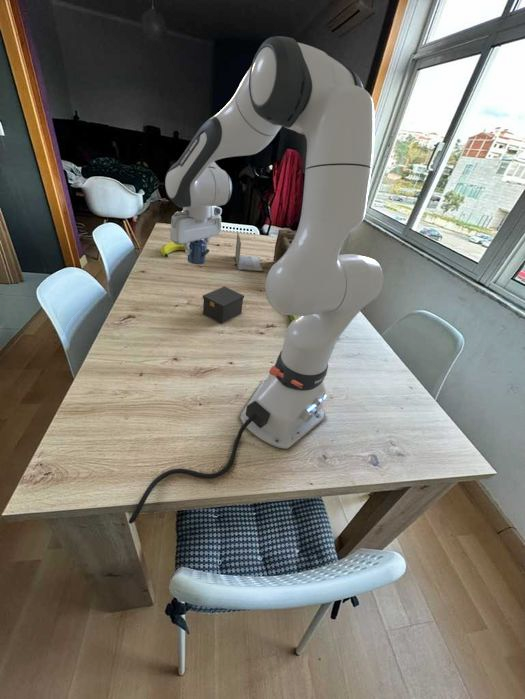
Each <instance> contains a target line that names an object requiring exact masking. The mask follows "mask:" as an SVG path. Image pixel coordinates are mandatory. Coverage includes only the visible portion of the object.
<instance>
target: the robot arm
mask: <svg viewBox="0 0 525 699" xmlns="http://www.w3.org/2000/svg"><path fill="white" fill-rule="evenodd" d="M282 128H285V129H288V130H291V131H294V132H296V133H297V134H299V135H304V137H305V140H306V154H305V155H306V156H305V168H304V181H303V192H302V194H303V195H302V204H301V213H300V218H299V222H298V226H297V229H296V231H297V232H296V234H295V237H294V239H293V241H292V243H291V245H290V247H289V248H288V250H287V251H286V253H285V254H284V255H283V256H282V257H281V258H280V259H279V260H278V261H277V262H276V263H275V262H274V264H273V265H271V267H270V269H269V271H268V272H267V275H266V277H265V278H266V279H265V283H264V291H265V292H264V293H265V296H266V299H267V302H268V303H269V306H270V307H271V308H272V309H273V310H274V311H275V312H276V313H277V314H279V315H283V316H289V315H292V316H298V317H297V318H296V319H294V320H293V321H292V322H290V323H289V325H288V327H287V329H286V332H285V336H284V339H283V344H282V348H281V350H280V352H279V354H278V356H277V358H276V361H275V363H274V365H272V366H271V367H270V369H269V372H268V373H269V374H268V376H267V377H266V379H264V380H262V382H261V383H260V385H259V386H258V388H257V389H256V391H255V392H254V394H253V395H252V396H251V398H250V400H249V401H248V403H247V404H246V406H245V407H244V408H243V410H242V412H241V413H240V416H239V417H240V420H241V422H242V425H241V427H240V428H239V430H238V432H237V434H236V435H237V436H236V438H235V439H234V440H235V441H234V443H233V447H232V450H231V455H230V457H229V460H228V463H227V464H226V466H225V467H223V468H222V469H221V470H219V471H218V472H214V473H204V472H199V471H195V470H193V469H192V470H191V469H187V468H172V469H169V470H167V471H164V472H162V473H161V474H160V475H158V476H156V478H155V479H154V480H152V482H150V484H149V485H148V486H147V488H146V489H145V491H144V493H143V494H142V496H141V498H140V499H139V502H138V504H137V506H136V507H135V509H134V511H133V512H132V514H131V516H130V518H129V519H128V524H130V525H131V524H133V523H135V521H136V520H137V518H138V516H139V515H140V513H141V510H142V509H143V507H144V505H145V503H146V501H147V499H148V497H149V496H150V494H151V492H152V491H153V489H154V488H155V487H156V486H157V484H159V483H160V482H161V481H162V480H164V479H166V478H167V477H169V476H172V475H178V474H179V475H187V476H192V477H195V478H198V479H204V480H205V479H206V480H212V479H217V478H219V477H221V476H223V475H225V474H226V473H227V472H228V471H229V470H230V469H231V468H232V466H233V464H234V462H235V458H236V452H237V449H238V446H239V443H240V441H241V439H242V436H243V433H244V431H245V430H246V429H247V430H248V431H249V432H251V433H252V434H253V435H254V436H255V437H257V438H258V439H260V440H261V441H264V442H265V443H266V444H268V445H271V446H273V447H275V448H279V449H285V450H286V449H290V448H291V447H292V446H293V445H295V443H297V442H298V441H299V440H300V439H302V437H304V436H305V435H306V434H308V433H309V432H311V430H313V428H315V427H316V426H317V425H319V424H320V423H321V422H322V421H323V420H324V419H325V412H324V411H323V409H322V406H323V402H324V400H325V399H326V398H327V394H326V393H327V389H326V386H325V383H324V380H325V378H326V376H327V373H328V368H329V362H330V359H331V356H332V354H333V351H334V349H335V346H336V345H337V342H338V340H339V339H340V337H341V336H342V335H343V333H344V332H345V331H346V329H347V328H348V326H349V325H350V324H351V322H352V321H353V320H354V319H355V317H357V315H358V314H359V313H360V312H361V311H362V310H363V309H364V308H365V307H367V305H368V304H370V303H372V302H373V301H374V300H376V299H377V298H378V296H379V295H380V294H381V291H382V289H383V285H384V273H383V270H382V267H381V265H380V264H379V262H378V261H376V260H375V259H373V258H372V257H368V256H364V255H360V254H354V253H349V254H348V253H347V254H340V252H341V249H342V247H343V246H344V243H345V241H346V239H347V238H348V236H349V235H350V234H351V233H352V232H353V231H354V230H356V229H357V228H358V227H359V226H360V225H362V223H363V221H364V220H365V215H366V211H367V205H368V197H369V191H370V190H369V189H370V182H371V175H372V168H373V159H374V151H375V150H374V149H375V148H374V147H375V106H374V100H373V98H372V96H371V94H370V92H368V90H366V89H365V88H364V85H363V82H362V80H361V78H360V77H359V76H358V74H357V73H356V72H355V71H354V70H353V69H352V68H351V67H349V66H347V65H343V64H342V63H341V62H339V61H337V60H336V59H334V58H333V57H331V56H330V55H328V53H326V52H325V51H323V50H321V49H319V48H316V47H314V46H312V45H308V44H305V43H303V42H302V43H301V42H297V40H296V39H294V38H293V37H288V36H281V35H277V36H276V35H275V36H270V37H268V38H267V39H265V40H264V41H263V42H262V43H261V45H260V46H259V48H258V50H257V51H256V53H255V55H254V58H253V59H252V63H251V65H250V66H249V69H248V70H247V71H246V73H245V75H244V77H243V78H242V79H241V81H240V83H239V86H238V87H237V89H236V91H235V93H234V94H233V96H232V97H231V99H230V100H229V101H228V102H227V103H226V105H225V106H224V107H223V108H222V109H220V111H219V112H217V113H216V114H215V115H213V116H211V117H210V118H209V119H207V120H206V121H205V122H204V123H203V124H202V125H201V126H200V128H199V129H198V131H197V132H196V133H195V135H194V136H193V137H192V138H191V141H190V142H189V144H188V145H187V147H186V148H185V150H184V151H183V153H182V154H181V156H180V157H179V158H178V160H177V161H176V162H174V163H173V164H172V165H171V166H170V167H169V168H168V170H167V172H166V174H165V178H164V189H165V193H166V195H167V197H168V198H169V199H170V201H172V203H174V204H175V206H177V207H178V208H182V210H181V211H175V212H174V213H173V215H172V216H171V218H170V220H171V221H170V231H169V239H170V241H171V242H174V243H177V244H183V246H184V248H185V250H184V252H185V254H186V255H187V256H188V255H190V254H192V249H190V247H189V245H190V242H191V241H196V240H200V239H201V240H203V241H204V242H205V243H206V250H207V249H208V246H209V244H210V241H211V238H212V237H213V238H214V237H216V236H219V235H220V233H221V231H222V216H221V215H222V213H223V209H222V208H221V207H220V206H225V205H227V203H228V202H229V201H230V199H231V196H232V193H233V183H232V182H233V181H232V178H231V177H230V175H229V174H228V173H227V171H226V170H225V169H222V168H221V167H220V166H219V165H218V164H217V163H216V161H218V160H222V159H226V158H233V157H244V156H245V157H246V156H253V155H256V154H258V153H259V152H261V151H263V150H264V149H265V148H266V147H267V146H269V144H270V143H271V142H272V141H273V140H274V139H275V137H276V136H277V134H278V132H279V131H280V130H281V129H282ZM206 250H205V251H206Z"/></svg>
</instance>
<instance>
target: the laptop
mask: <svg viewBox="0 0 525 699" xmlns="http://www.w3.org/2000/svg"><path fill="white" fill-rule="evenodd" d="M241 248H242V241H241V237H240V234H239V231H237V234H236V243H235V254H234V256H235V261H236V267H237V270H238V271H239V270H240V271H252V272H253V271H256V272H260V271H261V272H263V271H264V270H263V267H262V264H261V261H260V259H259V256H253V255H251V256H250V255H241Z"/></svg>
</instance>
